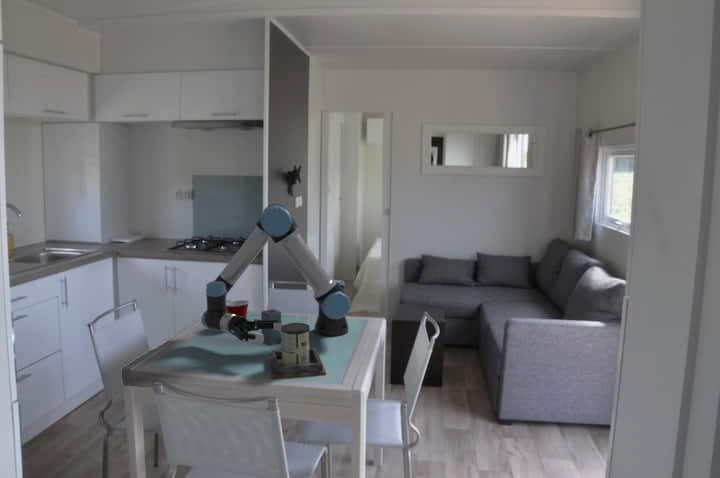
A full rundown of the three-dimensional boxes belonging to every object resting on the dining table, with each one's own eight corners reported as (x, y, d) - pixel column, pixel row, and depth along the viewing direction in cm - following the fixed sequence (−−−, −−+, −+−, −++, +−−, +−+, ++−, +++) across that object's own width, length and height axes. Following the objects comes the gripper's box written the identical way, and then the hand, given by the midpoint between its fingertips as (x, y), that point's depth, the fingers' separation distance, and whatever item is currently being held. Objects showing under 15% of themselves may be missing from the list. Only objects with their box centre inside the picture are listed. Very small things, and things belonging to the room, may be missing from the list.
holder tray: (317, 355, 204) (317, 347, 204) (325, 374, 186) (325, 364, 185) (268, 359, 200) (268, 350, 199) (271, 378, 182) (271, 369, 181)
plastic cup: (238, 322, 246) (238, 297, 244) (254, 327, 240) (254, 301, 238) (220, 328, 237) (219, 302, 235) (236, 333, 231) (235, 306, 229)
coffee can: (289, 357, 199) (289, 321, 197) (314, 360, 196) (314, 324, 194) (276, 367, 190) (276, 329, 188) (302, 370, 186) (302, 332, 184)
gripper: (256, 325, 219) (296, 334, 207) (210, 342, 198) (252, 353, 186) (256, 308, 218) (296, 315, 206) (209, 323, 197) (251, 332, 185)
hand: (275, 333), depth 196 cm, fingers open, 13 cm apart
